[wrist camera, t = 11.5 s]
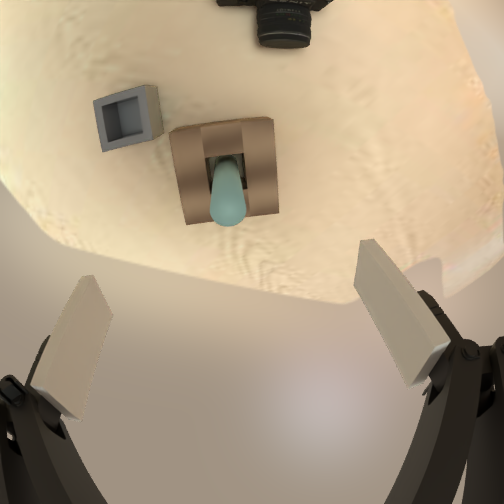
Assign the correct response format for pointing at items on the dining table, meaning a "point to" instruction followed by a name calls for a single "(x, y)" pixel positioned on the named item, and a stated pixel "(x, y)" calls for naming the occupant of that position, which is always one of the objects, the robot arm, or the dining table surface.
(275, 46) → the camera
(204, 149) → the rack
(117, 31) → the dining table surface
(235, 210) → the dowel
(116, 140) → the pen cup
